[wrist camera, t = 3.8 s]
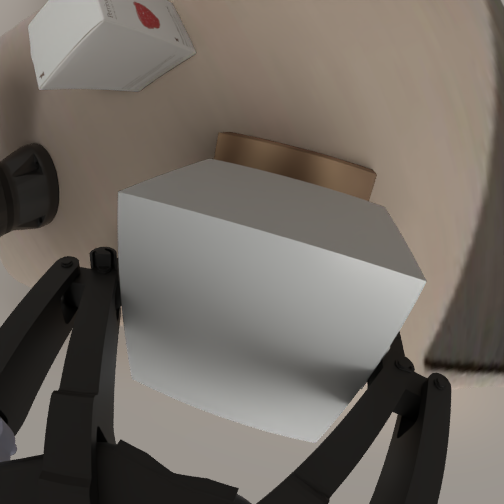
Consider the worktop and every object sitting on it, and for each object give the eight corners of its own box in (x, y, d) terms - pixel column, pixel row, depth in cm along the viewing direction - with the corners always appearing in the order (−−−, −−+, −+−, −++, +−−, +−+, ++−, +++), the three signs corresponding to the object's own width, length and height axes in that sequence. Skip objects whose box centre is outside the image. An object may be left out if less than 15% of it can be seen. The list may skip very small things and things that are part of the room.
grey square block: (191, 299, 20) (132, 378, 13) (209, 158, 16) (118, 191, 9) (327, 342, 19) (315, 443, 12) (384, 206, 14) (426, 281, 7)
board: (204, 290, 38) (175, 326, 31) (229, 132, 28) (194, 135, 21) (315, 326, 35) (307, 372, 28) (372, 169, 26) (385, 185, 19)
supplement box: (199, 54, 25) (104, 20, 12) (138, 93, 29) (36, 94, 16) (173, 0, 23) (85, -41, 10) (118, 41, 26) (24, 27, 13)
